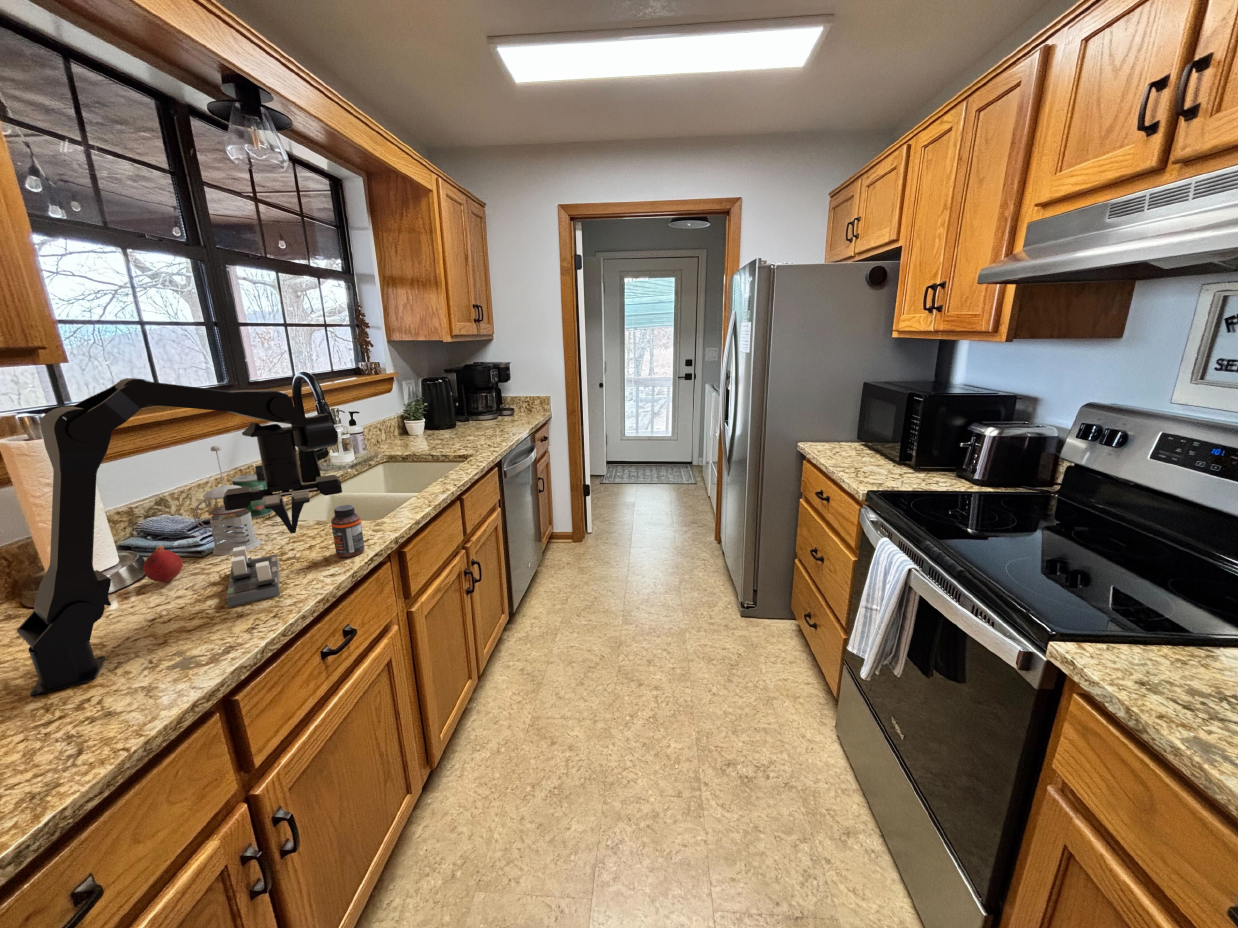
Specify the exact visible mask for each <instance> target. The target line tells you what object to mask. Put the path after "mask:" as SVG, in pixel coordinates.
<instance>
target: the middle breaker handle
mask: <svg viewBox="0 0 1238 928" xmlns="http://www.w3.org/2000/svg"><path fill="white" fill-rule="evenodd" d="M230 562H231V566H232V568H233V571H232V574H231V580H234V579H238V578H243V577H247V576H250V573H251V569H250V568H247V567H246V562H245V557H244V556H240V557H235V558H234V557H231V560H230Z"/></svg>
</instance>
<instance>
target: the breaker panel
mask: <svg viewBox="0 0 1238 928" xmlns="http://www.w3.org/2000/svg"><path fill="white" fill-rule="evenodd" d="M251 560H252V561H251V565H249V566H246V567H247V568H250V569H251V573H250V576H247V577H243V578H238V579H234V580H231V574H232V571H233V568H232V565H231V569H230V571H229V572H230V573H229V579H228V583H227V584H228V585H227V590H226V604H227V608H228V609H231V608H235V607H238V606H241V605H242V606H243V605H246V604H251V603H254V602H255V603H256V602H259V601H262V600H267V599H271V598H276V597H279V596H280V595H281V590H280V565H279V564H280V563H279V559H278V554H277V553H276V554H275V553H274V554H272V555H267V556H261V557H257V558H251ZM266 561H269V566H270V571H271V574H273V573H274V575H275V582H272V583H268V584H263V585H259V586H256V577H258V576H257V571H256V564H257V563H261V562H266Z"/></svg>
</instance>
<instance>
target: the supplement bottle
mask: <svg viewBox="0 0 1238 928" xmlns="http://www.w3.org/2000/svg"><path fill="white" fill-rule="evenodd" d="M333 511H334V512H333V514H334V516H333V517H332V518H331V523H330V524H331V530H332V536H333V543H334V549H335V554H336V556H337V557H339V558H343V559H344V558H345V557H347V558H352V557H357V556H359V555H361V554H363V552H364V551H365V540H364V533H363V527H362V521H361V520H362V519H361V517H360V514H358V513H356V512H355V506H354V505H353V504H343V505H339V506H336V507H334V508H333ZM356 555H357V556H356Z"/></svg>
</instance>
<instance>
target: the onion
mask: <svg viewBox="0 0 1238 928" xmlns="http://www.w3.org/2000/svg"><path fill="white" fill-rule="evenodd" d="M183 566H184V564H183V560H182V558H181V556H179V555H178V554H177V553H176V552H173V551H170V550H166V549H165V547H164V546H162V545H159V546H158V547H156V548H155V550H154V551H153V552H152V553H151V554H149V556H148V557H147V558H146V560H145V561H144V564H143V572H144V574H145V576H146V578H148V579H149V580H151V581H154V582H158V583H164V584H169V583H171V582H172V581H173V580H174V579H175V578H176V577H177V576H178V575H179V574H180V573H181V572H182V569H183V568H184V567H183Z"/></svg>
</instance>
